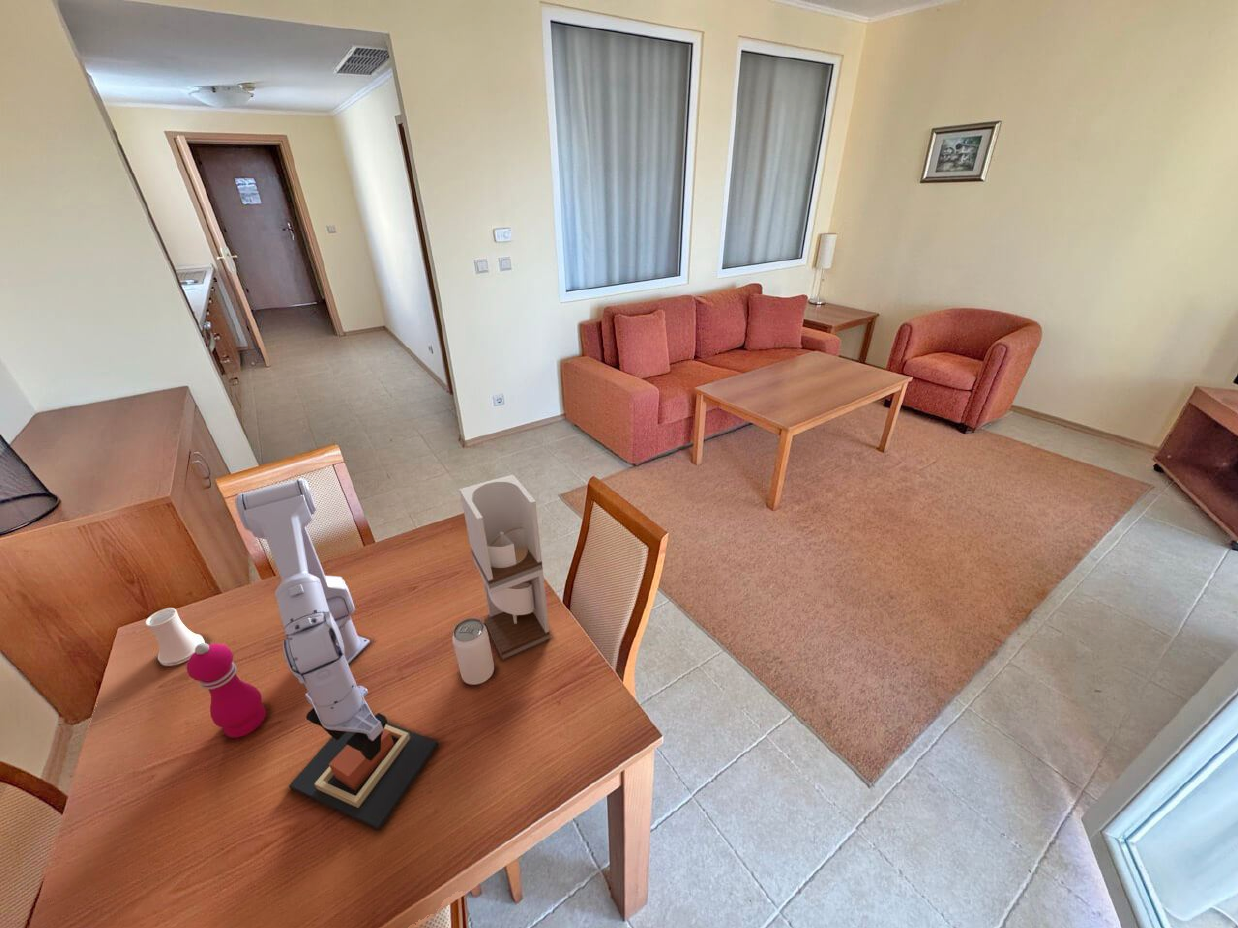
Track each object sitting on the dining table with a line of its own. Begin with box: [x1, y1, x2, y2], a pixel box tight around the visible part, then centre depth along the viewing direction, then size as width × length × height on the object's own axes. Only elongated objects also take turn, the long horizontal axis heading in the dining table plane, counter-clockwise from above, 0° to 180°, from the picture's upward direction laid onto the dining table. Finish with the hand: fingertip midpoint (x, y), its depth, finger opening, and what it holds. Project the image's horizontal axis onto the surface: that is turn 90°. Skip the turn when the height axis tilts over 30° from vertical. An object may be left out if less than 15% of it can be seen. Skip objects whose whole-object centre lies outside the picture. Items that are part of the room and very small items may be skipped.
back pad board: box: [288, 721, 439, 831], centre depth 82 cm, size 18×14×2 cm
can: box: [452, 617, 495, 686], centre depth 96 cm, size 6×6×12 cm
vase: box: [145, 607, 206, 667], centre depth 102 cm, size 8×8×10 cm
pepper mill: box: [186, 642, 267, 739], centre depth 85 cm, size 7×7×20 cm
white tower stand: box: [459, 474, 551, 660], centre depth 100 cm, size 11×11×35 cm
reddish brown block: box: [329, 730, 395, 791], centre depth 81 cm, size 5×8×4 cm, turn 154°
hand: (357, 744), depth 80 cm, fingers open, 7 cm apart
